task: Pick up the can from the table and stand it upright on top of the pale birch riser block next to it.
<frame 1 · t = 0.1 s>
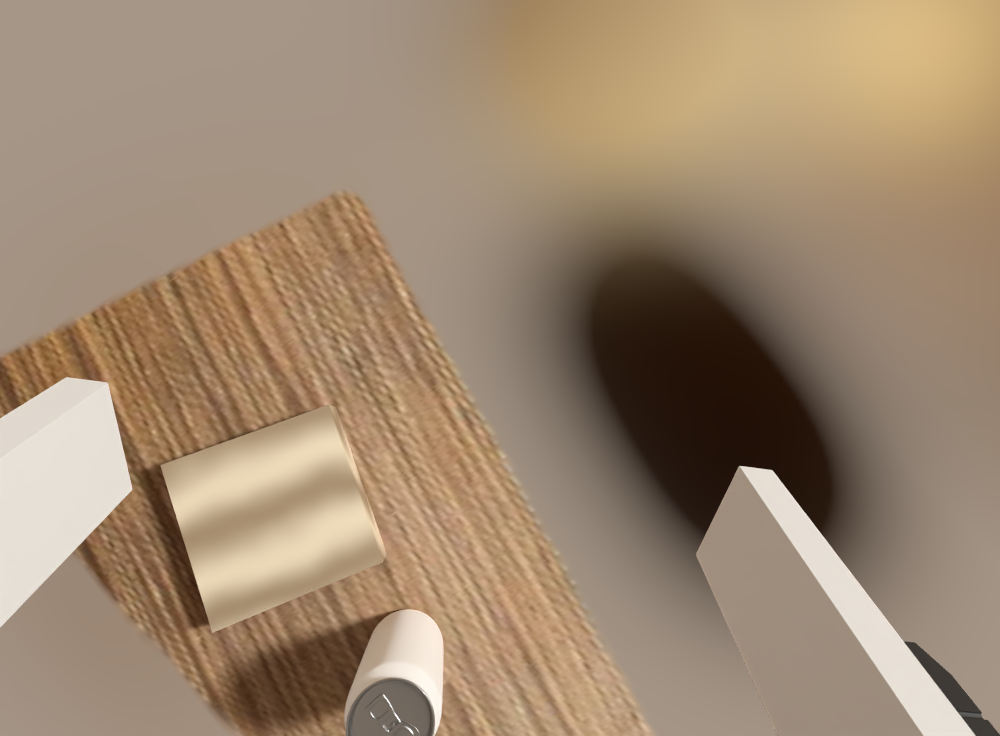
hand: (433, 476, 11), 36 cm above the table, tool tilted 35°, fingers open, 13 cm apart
can: (406, 645, 43), on the table
riser: (284, 508, 44), on the table
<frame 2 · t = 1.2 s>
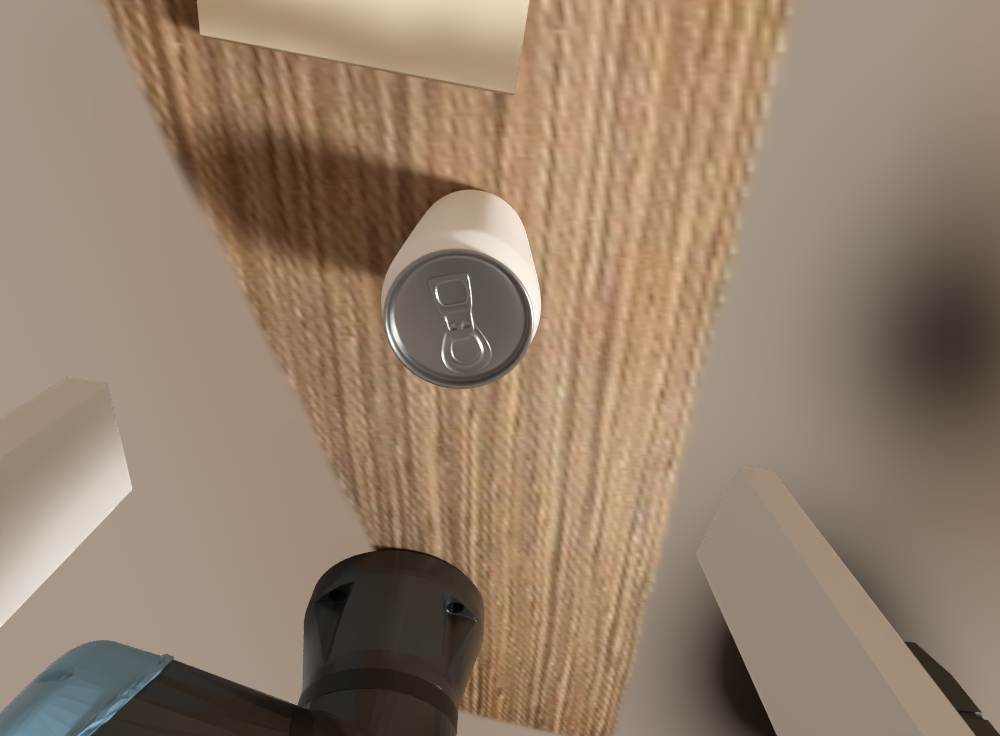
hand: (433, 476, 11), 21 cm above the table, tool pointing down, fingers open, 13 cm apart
can: (472, 245, 29), on the table
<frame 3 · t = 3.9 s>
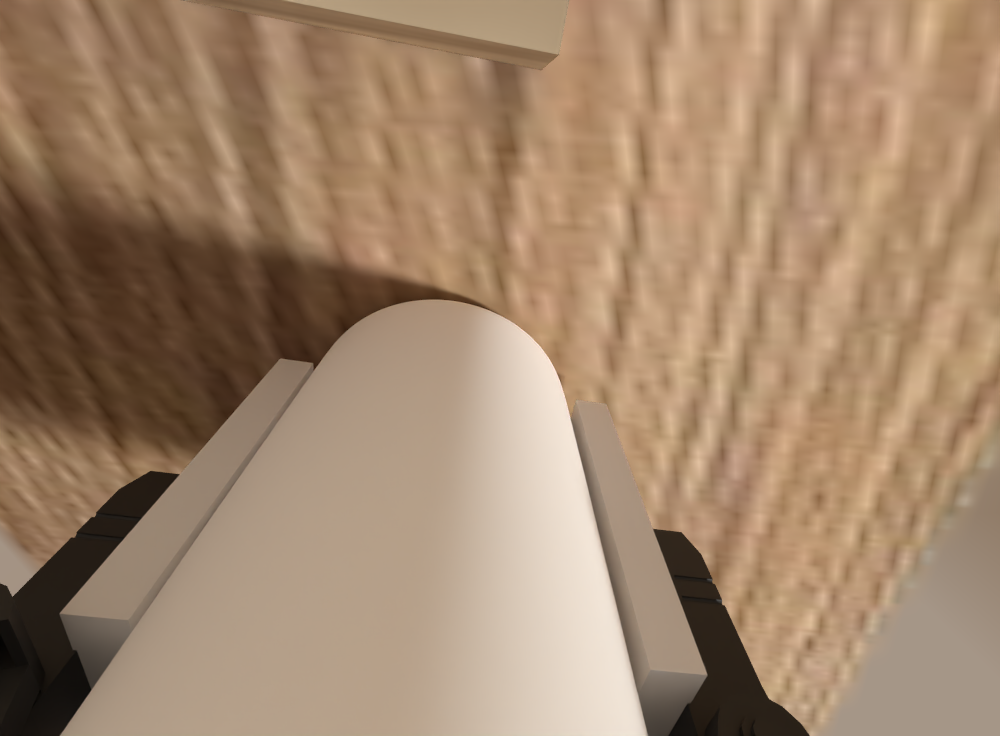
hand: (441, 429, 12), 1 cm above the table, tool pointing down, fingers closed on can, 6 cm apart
can: (442, 404, 13), on the table, touching gripper
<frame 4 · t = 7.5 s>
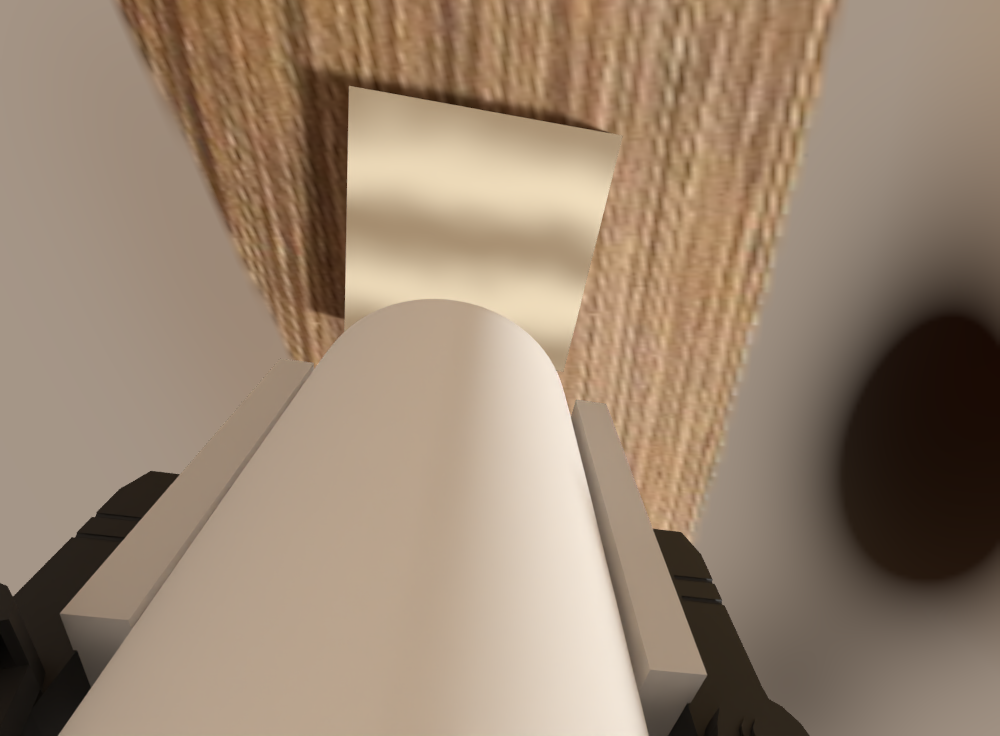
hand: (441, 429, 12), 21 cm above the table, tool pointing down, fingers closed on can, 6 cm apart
can: (443, 404, 13), point 20 cm above the table, touching gripper
riser: (472, 235, 31), on the table
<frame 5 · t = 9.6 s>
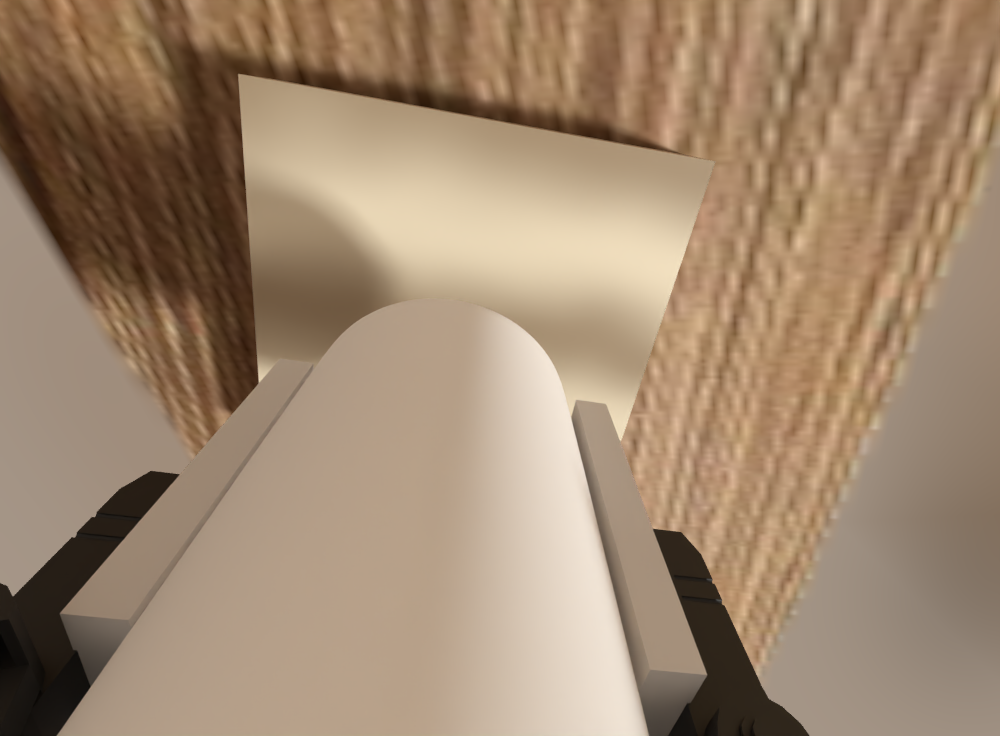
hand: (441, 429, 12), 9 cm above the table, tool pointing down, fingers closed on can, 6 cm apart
can: (443, 403, 13), point 8 cm above the table, touching gripper
riser: (461, 307, 20), on the table
when the fingers open (5 cm above the table, at t = 11.1 s): can drops 1 cm, resting on riser.
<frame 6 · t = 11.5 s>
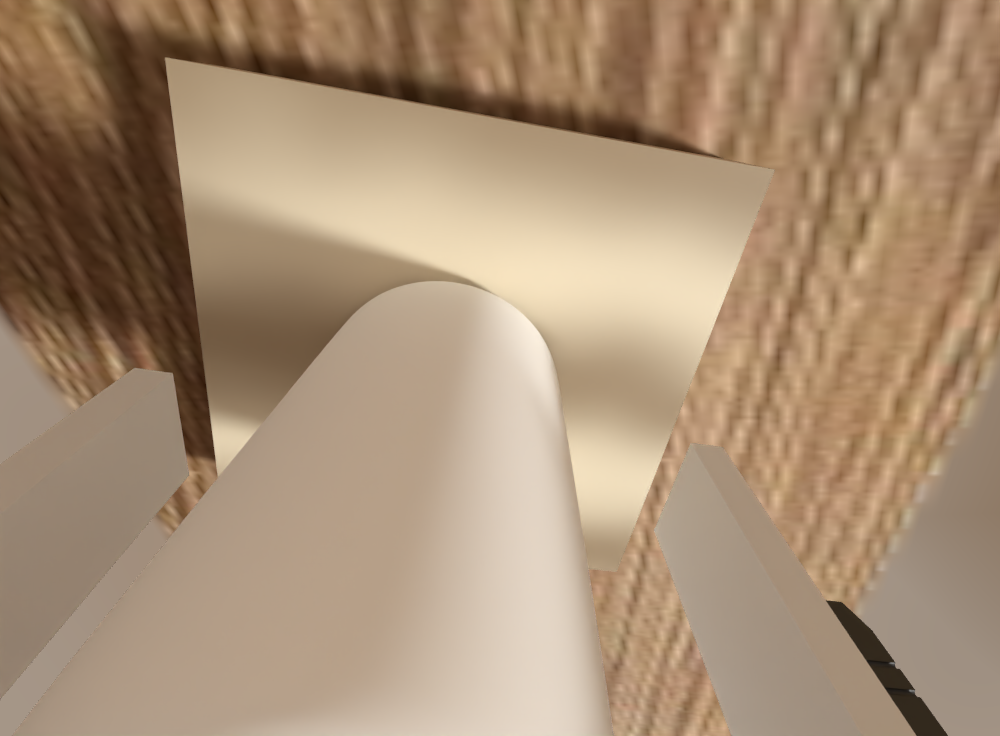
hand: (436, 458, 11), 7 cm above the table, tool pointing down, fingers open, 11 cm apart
can: (446, 380, 14), point 3 cm above the table, touching riser
riser: (456, 339, 17), on the table
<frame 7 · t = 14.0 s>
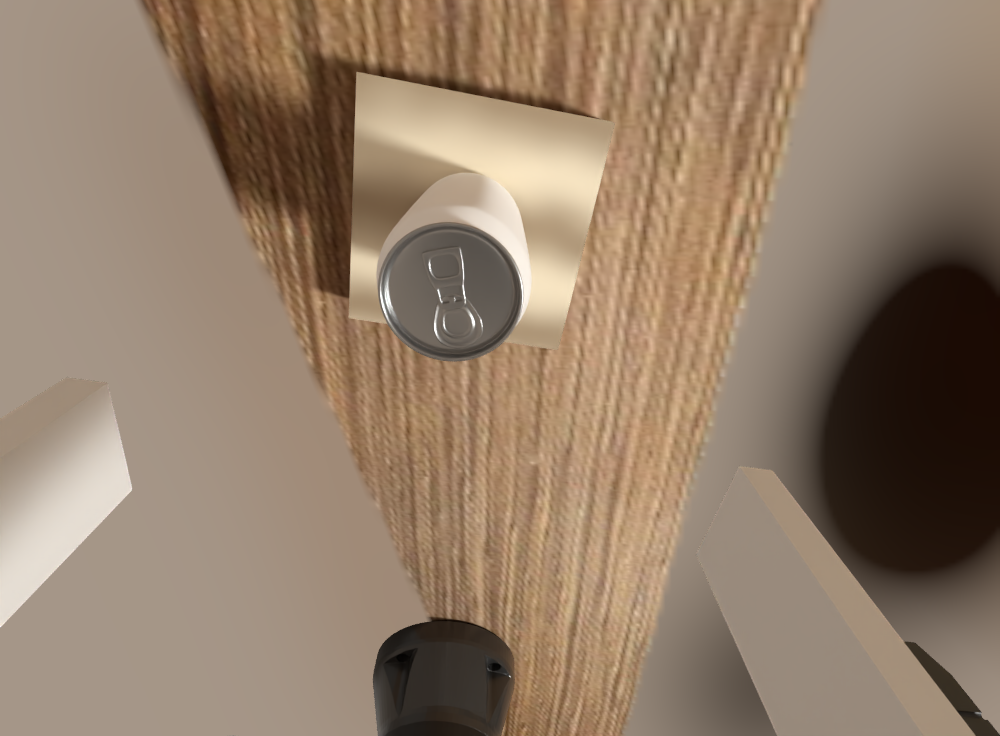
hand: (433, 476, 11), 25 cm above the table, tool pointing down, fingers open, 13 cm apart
can: (468, 228, 30), point 3 cm above the table, touching riser
riser: (472, 218, 32), on the table
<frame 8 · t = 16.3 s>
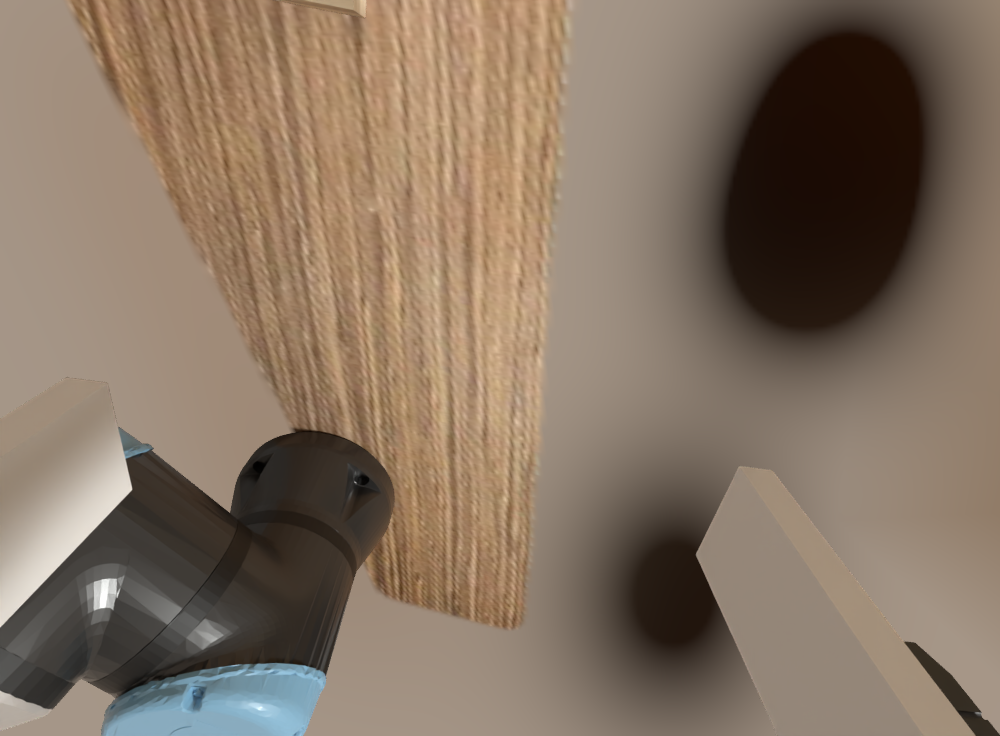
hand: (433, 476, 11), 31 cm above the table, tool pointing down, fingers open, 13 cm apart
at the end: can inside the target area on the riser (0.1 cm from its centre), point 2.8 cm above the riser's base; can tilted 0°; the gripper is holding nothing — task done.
